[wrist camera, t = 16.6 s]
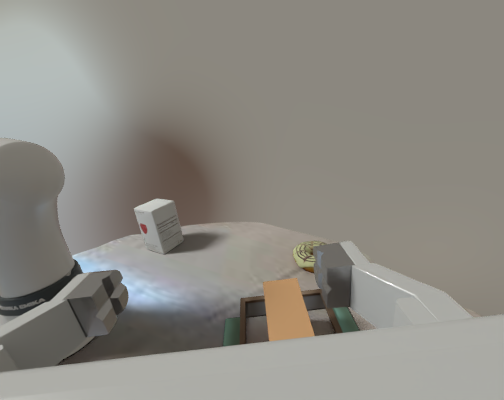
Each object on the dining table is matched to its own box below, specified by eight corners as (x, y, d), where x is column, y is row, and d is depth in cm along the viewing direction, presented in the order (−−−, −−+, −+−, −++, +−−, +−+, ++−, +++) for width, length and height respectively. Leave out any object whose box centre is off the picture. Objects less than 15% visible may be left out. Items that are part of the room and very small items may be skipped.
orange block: (277, 411, 32) (271, 360, 28) (268, 324, 45) (262, 282, 41) (322, 406, 32) (320, 354, 28) (299, 320, 45) (296, 278, 41)
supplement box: (145, 249, 78) (132, 208, 72) (167, 236, 85) (156, 197, 79) (163, 255, 73) (150, 211, 68) (185, 241, 80) (174, 200, 75)
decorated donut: (296, 276, 57) (295, 263, 55) (291, 251, 67) (290, 240, 65) (340, 273, 56) (341, 260, 54) (329, 248, 66) (329, 237, 64)
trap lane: (190, 701, 17) (187, 699, 16) (227, 302, 51) (226, 299, 51) (535, 670, 16) (539, 667, 16) (337, 289, 51) (337, 287, 51)
